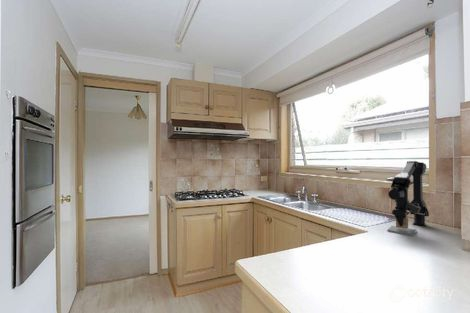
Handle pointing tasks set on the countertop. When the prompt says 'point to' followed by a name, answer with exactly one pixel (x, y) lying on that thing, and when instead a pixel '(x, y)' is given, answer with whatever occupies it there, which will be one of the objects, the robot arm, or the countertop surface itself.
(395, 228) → the slate coaster
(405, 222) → the walnut block
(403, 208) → the robot arm
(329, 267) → the countertop surface
